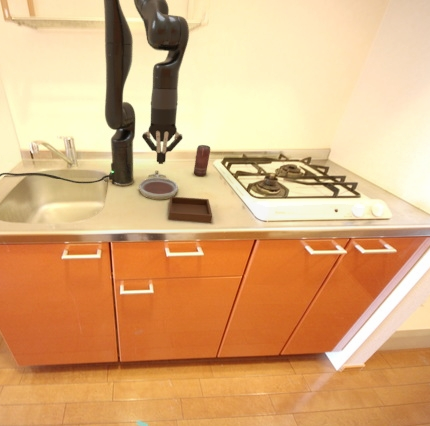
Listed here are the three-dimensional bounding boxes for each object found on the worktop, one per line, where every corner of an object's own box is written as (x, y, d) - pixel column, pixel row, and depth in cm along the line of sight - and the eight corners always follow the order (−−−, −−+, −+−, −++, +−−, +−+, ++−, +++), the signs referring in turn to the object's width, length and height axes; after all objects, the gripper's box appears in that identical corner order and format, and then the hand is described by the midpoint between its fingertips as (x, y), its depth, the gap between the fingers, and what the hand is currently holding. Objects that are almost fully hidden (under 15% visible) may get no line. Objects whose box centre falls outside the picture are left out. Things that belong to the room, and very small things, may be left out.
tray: (168, 219, 80) (169, 212, 78) (169, 203, 90) (170, 196, 88) (210, 223, 79) (212, 215, 77) (207, 205, 88) (208, 199, 87)
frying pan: (174, 168, 113) (180, 194, 89) (173, 174, 115) (180, 201, 91) (140, 168, 113) (137, 193, 89) (139, 173, 115) (137, 200, 91)
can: (193, 176, 111) (197, 148, 103) (193, 171, 116) (197, 144, 109) (206, 177, 110) (211, 149, 103) (205, 172, 115) (210, 145, 108)
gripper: (186, 104, 68) (180, 160, 78) (142, 103, 69) (142, 158, 79) (187, 108, 62) (181, 168, 71) (139, 107, 63) (139, 166, 72)
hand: (160, 163), depth 75 cm, fingers closed
